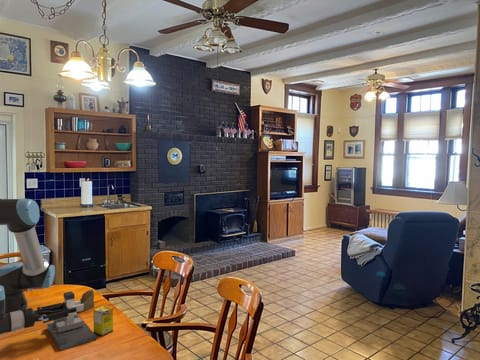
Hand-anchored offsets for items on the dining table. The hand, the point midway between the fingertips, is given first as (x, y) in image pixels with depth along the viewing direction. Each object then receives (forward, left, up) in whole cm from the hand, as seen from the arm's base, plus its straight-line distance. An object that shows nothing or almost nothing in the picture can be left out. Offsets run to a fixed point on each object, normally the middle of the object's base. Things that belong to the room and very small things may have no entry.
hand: (81, 305), depth 164 cm
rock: (-22, +8, -11) cm, 26 cm away
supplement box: (+9, +7, -11) cm, 16 cm away
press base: (+2, -5, -11) cm, 12 cm away
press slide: (0, -5, -9) cm, 10 cm away
